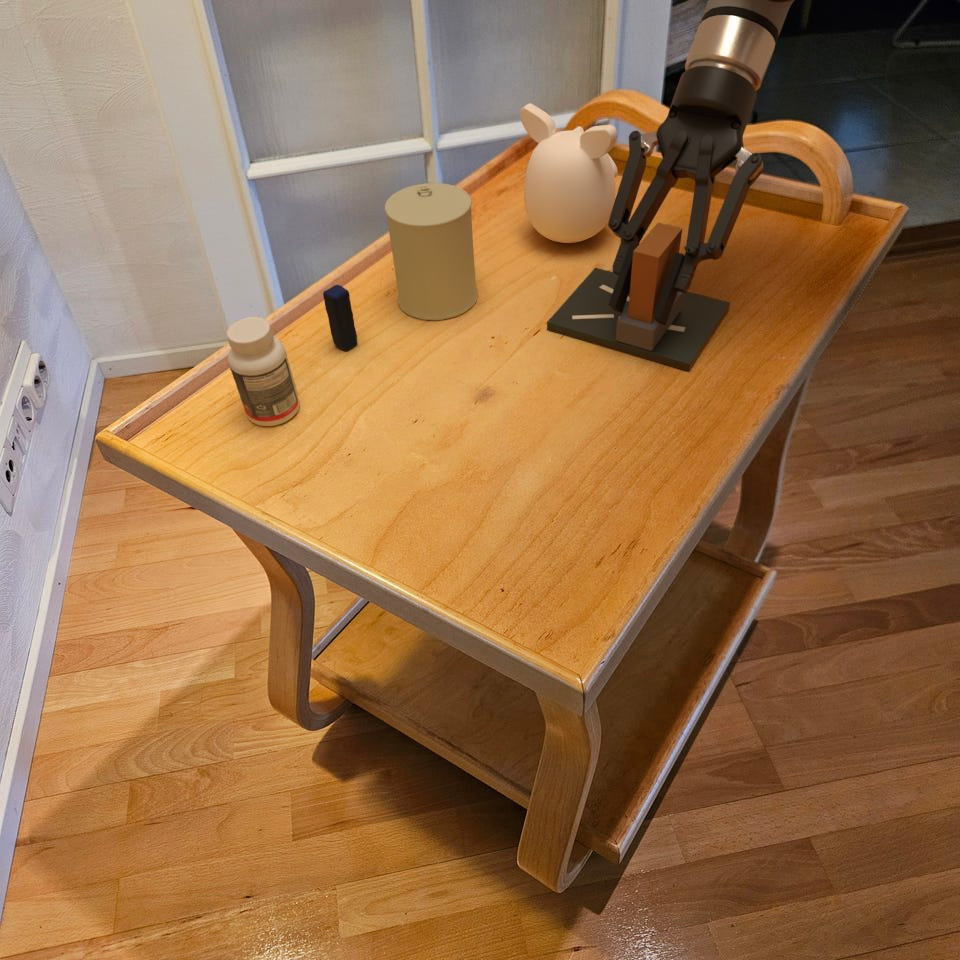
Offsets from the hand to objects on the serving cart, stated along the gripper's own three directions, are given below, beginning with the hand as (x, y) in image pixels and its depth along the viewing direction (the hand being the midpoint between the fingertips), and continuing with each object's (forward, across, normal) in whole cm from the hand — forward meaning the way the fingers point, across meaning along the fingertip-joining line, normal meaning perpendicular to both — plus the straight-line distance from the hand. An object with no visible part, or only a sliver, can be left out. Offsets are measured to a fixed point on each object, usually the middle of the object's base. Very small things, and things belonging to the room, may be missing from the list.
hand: (637, 314), depth 82 cm
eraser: (+12, +28, +5) cm, 31 cm away
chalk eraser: (0, 0, -5) cm, 5 cm away
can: (+4, +24, -3) cm, 24 cm away
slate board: (-1, +2, -7) cm, 8 cm away
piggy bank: (-10, +17, -17) cm, 26 cm away
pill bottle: (+21, +28, +14) cm, 37 cm away
